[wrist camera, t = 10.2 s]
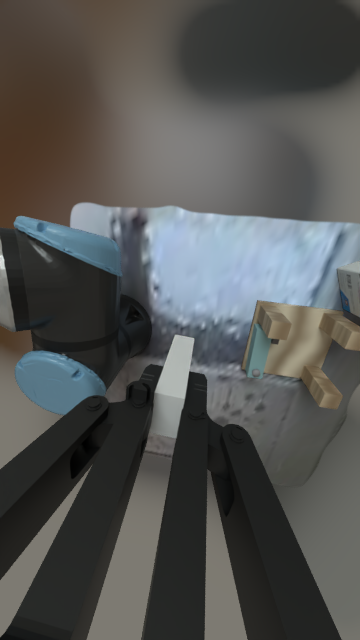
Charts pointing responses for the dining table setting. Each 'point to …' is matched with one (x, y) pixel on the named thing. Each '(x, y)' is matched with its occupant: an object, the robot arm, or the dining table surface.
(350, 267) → the ink box
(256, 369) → the hinged leg
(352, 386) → the dining table surface
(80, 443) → the robot arm
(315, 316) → the stool seat
